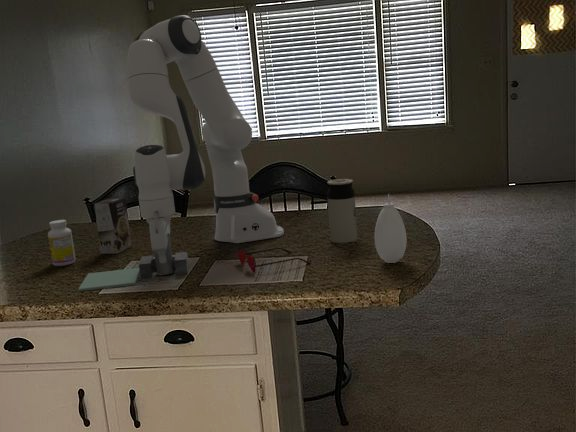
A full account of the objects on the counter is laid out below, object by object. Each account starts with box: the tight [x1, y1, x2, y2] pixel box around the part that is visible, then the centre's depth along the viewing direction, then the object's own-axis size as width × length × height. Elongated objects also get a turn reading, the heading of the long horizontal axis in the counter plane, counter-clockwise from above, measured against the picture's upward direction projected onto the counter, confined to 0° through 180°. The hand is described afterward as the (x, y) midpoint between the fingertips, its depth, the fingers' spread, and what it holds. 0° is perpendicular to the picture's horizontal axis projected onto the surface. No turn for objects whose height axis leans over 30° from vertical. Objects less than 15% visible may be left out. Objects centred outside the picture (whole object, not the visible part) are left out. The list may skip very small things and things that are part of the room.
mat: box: [77, 267, 140, 292], centre depth 162 cm, size 14×14×1 cm
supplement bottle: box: [47, 219, 77, 267], centre depth 182 cm, size 7×7×13 cm
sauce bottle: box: [374, 193, 408, 264], centre depth 155 cm, size 8×8×18 cm
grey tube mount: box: [138, 251, 189, 280], centre depth 165 cm, size 12×10×4 cm
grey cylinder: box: [153, 233, 175, 276], centre depth 162 cm, size 4×4×10 cm
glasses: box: [235, 247, 312, 274], centre depth 164 cm, size 14×16×5 cm
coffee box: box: [93, 197, 132, 255], centre depth 193 cm, size 9×6×16 cm
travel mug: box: [326, 178, 358, 244], centre depth 181 cm, size 8×8×18 cm
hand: (164, 259), depth 163 cm, fingers closed on grey cylinder, 4 cm apart
